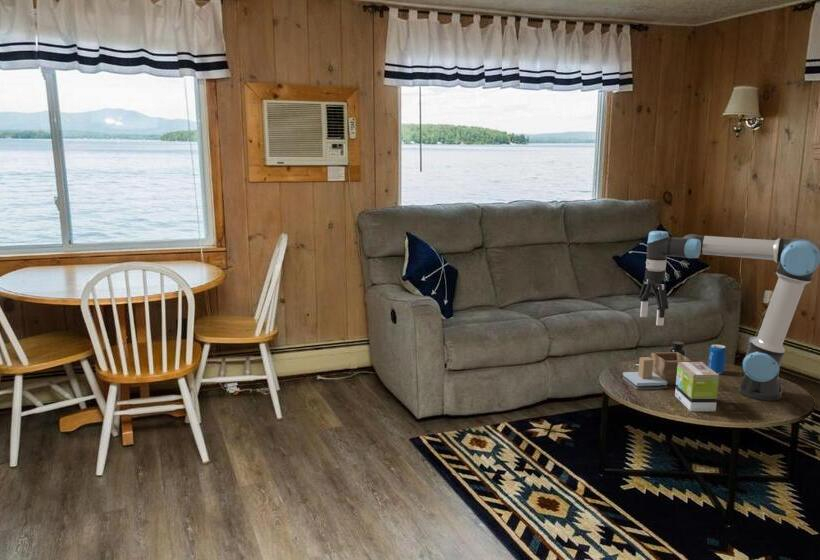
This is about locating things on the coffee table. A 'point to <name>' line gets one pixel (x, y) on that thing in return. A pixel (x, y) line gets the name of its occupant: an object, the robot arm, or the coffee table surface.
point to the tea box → (697, 386)
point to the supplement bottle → (678, 348)
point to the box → (667, 365)
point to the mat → (644, 386)
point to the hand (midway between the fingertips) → (651, 320)
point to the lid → (645, 374)
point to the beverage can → (717, 358)
